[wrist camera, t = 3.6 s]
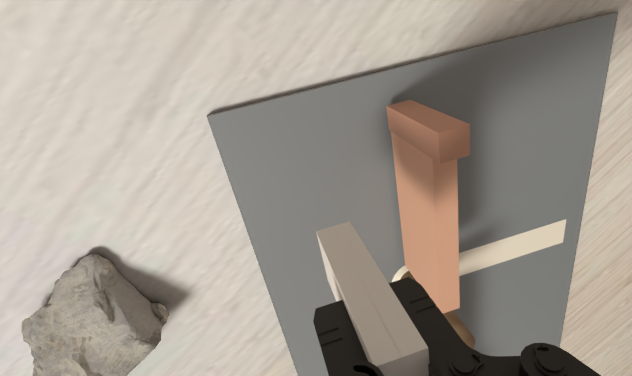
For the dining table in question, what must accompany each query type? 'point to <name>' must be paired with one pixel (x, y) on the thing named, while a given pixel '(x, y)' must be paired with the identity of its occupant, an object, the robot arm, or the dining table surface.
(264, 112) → the board
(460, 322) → the board
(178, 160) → the dining table surface
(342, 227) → the robot arm
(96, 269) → the stone
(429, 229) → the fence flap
